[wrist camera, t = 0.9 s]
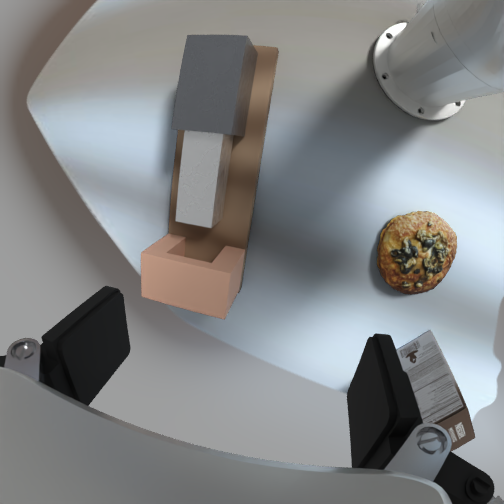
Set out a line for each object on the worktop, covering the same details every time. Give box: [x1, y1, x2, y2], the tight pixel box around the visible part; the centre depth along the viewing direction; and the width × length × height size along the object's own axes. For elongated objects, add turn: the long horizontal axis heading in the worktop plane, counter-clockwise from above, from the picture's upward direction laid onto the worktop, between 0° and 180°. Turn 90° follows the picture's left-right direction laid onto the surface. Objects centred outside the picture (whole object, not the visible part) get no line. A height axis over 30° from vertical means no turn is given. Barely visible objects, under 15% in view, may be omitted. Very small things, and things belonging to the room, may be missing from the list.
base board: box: [169, 45, 279, 293], centre depth 34 cm, size 30×10×2 cm, turn 171°
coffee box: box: [396, 330, 475, 451], centre depth 31 cm, size 9×6×16 cm
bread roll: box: [377, 211, 457, 295], centre depth 32 cm, size 11×11×5 cm
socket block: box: [141, 234, 245, 319], centre depth 34 cm, size 6×10×7 cm, turn 81°
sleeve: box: [172, 35, 258, 137], centre depth 27 cm, size 10×6×6 cm, turn 171°
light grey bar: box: [176, 130, 234, 228], centre depth 29 cm, size 18×4×4 cm, turn 171°
